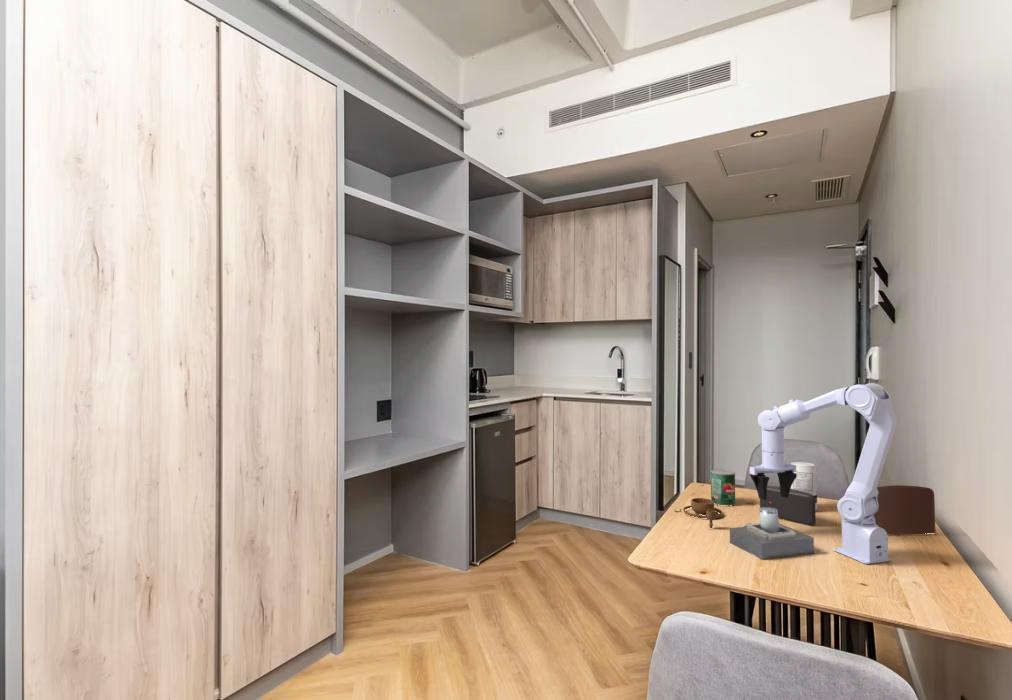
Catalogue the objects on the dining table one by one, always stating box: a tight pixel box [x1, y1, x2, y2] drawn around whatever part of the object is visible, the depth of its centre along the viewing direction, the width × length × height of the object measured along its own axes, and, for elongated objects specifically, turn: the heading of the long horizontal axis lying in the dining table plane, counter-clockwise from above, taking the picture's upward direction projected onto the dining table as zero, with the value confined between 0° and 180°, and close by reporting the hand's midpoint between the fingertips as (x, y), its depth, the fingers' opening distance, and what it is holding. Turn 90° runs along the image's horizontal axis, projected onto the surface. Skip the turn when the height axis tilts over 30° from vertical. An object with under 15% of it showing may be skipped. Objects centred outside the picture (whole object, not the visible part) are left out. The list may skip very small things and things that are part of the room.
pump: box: [758, 507, 780, 533], centre depth 137 cm, size 4×4×6 cm
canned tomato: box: [710, 468, 736, 507], centre depth 178 cm, size 8×8×11 cm
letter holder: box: [873, 484, 936, 534], centre depth 151 cm, size 10×20×14 cm, turn 91°
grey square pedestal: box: [729, 522, 815, 560], centre depth 139 cm, size 16×16×5 cm
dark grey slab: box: [759, 485, 817, 526], centre depth 160 cm, size 16×5×9 cm, turn 39°
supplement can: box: [790, 461, 818, 511], centre depth 171 cm, size 8×8×15 cm
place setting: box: [673, 497, 724, 528], centre depth 163 cm, size 18×20×6 cm
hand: (773, 497), depth 149 cm, fingers open, 7 cm apart
